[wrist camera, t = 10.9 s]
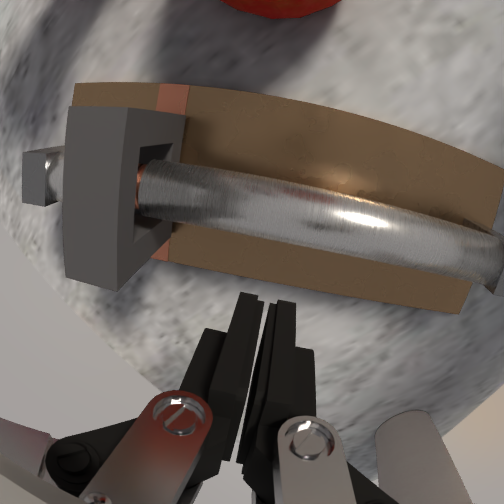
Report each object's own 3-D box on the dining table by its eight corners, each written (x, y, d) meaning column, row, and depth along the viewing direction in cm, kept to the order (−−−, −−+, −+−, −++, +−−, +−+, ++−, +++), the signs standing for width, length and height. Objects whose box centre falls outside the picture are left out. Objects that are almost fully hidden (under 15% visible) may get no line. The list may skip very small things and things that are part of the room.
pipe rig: (502, 169, 18) (559, 186, 12) (455, 310, 22) (492, 358, 16) (79, 84, 19) (20, 77, 13) (69, 235, 23) (17, 267, 17)
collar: (186, 115, 18) (128, 107, 11) (171, 236, 21) (117, 291, 14) (142, 111, 18) (68, 106, 11) (131, 228, 21) (65, 277, 14)
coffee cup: (441, 436, 28) (474, 537, 14) (366, 461, 30) (380, 569, 16) (444, 387, 25) (495, 510, 11) (354, 418, 27) (373, 555, 13)
